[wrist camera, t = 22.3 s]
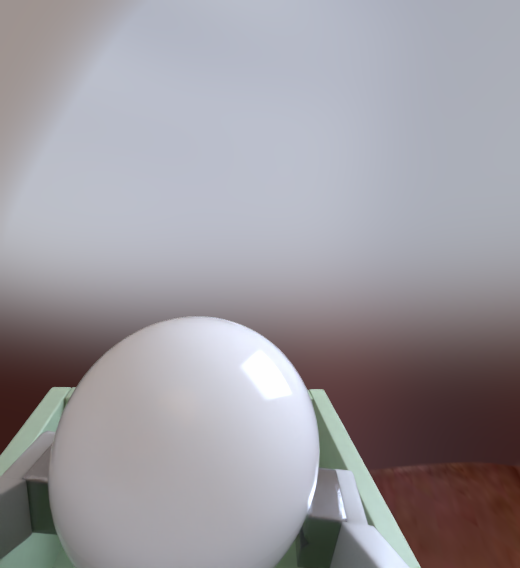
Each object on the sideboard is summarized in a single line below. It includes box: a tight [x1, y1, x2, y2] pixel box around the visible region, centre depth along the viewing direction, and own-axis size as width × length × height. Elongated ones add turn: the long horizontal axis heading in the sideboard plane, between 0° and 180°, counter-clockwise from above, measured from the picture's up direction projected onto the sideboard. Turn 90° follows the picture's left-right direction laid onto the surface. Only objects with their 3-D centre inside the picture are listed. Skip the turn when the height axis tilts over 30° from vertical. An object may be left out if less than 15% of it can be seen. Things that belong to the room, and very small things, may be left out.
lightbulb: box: [48, 316, 320, 568], centre depth 9 cm, size 6×6×11 cm
